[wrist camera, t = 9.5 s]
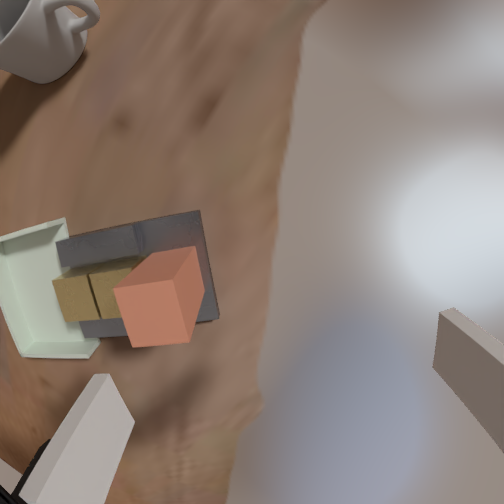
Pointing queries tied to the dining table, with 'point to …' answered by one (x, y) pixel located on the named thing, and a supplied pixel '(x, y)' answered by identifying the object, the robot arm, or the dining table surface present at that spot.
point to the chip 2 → (111, 283)
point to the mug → (43, 36)
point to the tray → (38, 294)
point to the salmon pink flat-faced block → (161, 298)
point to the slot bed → (134, 245)
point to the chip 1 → (77, 294)
